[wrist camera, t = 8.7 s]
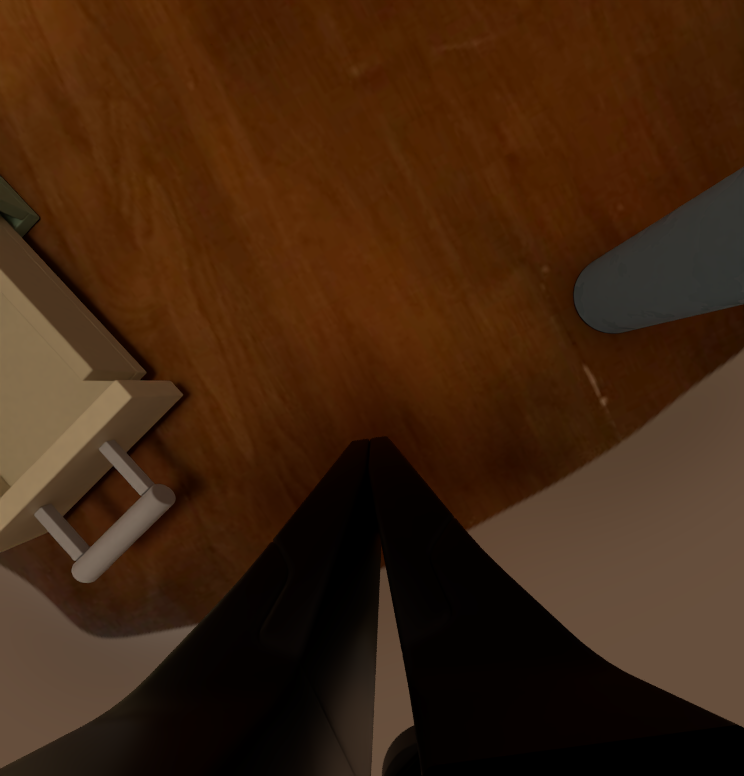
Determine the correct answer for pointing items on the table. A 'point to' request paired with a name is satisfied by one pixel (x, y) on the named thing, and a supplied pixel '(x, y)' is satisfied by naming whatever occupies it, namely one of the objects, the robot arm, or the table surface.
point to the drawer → (67, 413)
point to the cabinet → (15, 209)
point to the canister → (671, 265)
